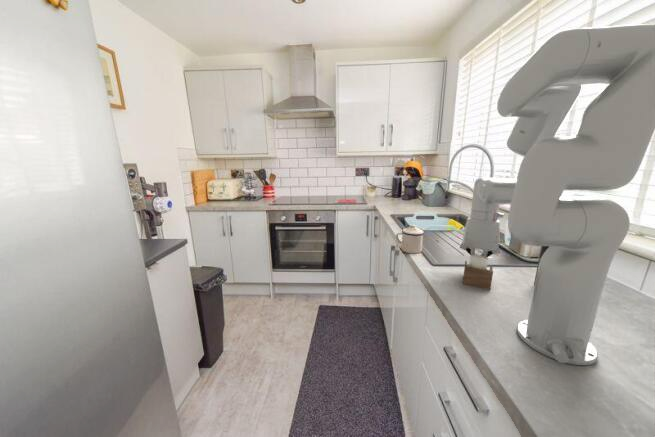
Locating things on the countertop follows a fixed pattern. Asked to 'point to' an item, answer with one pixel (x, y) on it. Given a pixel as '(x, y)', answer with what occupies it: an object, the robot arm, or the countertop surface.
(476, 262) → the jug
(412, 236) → the teacup with lid
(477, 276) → the caddy
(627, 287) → the countertop surface
